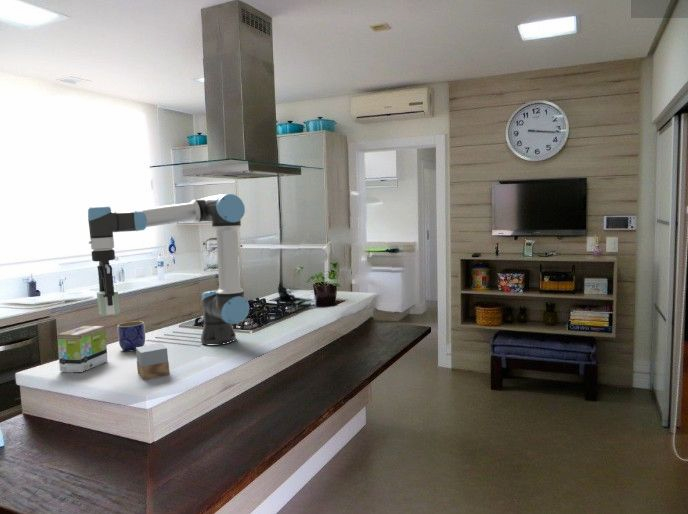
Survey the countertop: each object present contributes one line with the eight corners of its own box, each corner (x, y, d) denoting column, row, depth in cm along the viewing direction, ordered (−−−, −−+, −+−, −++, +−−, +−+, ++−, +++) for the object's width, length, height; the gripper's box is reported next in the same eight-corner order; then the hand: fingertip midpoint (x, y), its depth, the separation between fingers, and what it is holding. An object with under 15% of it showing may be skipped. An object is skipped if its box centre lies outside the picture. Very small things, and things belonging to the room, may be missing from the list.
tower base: (163, 369, 193) (162, 356, 192) (169, 375, 185) (168, 361, 185) (137, 374, 188) (136, 361, 187) (143, 380, 180) (142, 366, 180)
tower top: (162, 356, 192) (161, 343, 192) (168, 361, 185) (167, 348, 184) (137, 360, 188) (135, 347, 187) (141, 366, 180) (140, 352, 179)
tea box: (82, 373, 192) (79, 334, 190) (59, 372, 194) (55, 334, 192) (108, 361, 206) (105, 324, 205) (86, 360, 208) (83, 324, 207)
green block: (116, 311, 191) (114, 289, 191) (120, 313, 187) (117, 291, 186) (98, 313, 188) (96, 292, 187) (102, 316, 183) (99, 294, 182)
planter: (150, 348, 224) (148, 322, 222) (126, 354, 216) (123, 327, 215) (139, 344, 231) (137, 319, 230) (115, 349, 223) (112, 324, 222)
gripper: (86, 249, 190) (92, 310, 193) (96, 251, 175) (102, 318, 177) (108, 247, 195) (114, 307, 197) (119, 249, 179) (125, 315, 182)
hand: (108, 312), depth 187 cm, fingers closed on green block, 6 cm apart
